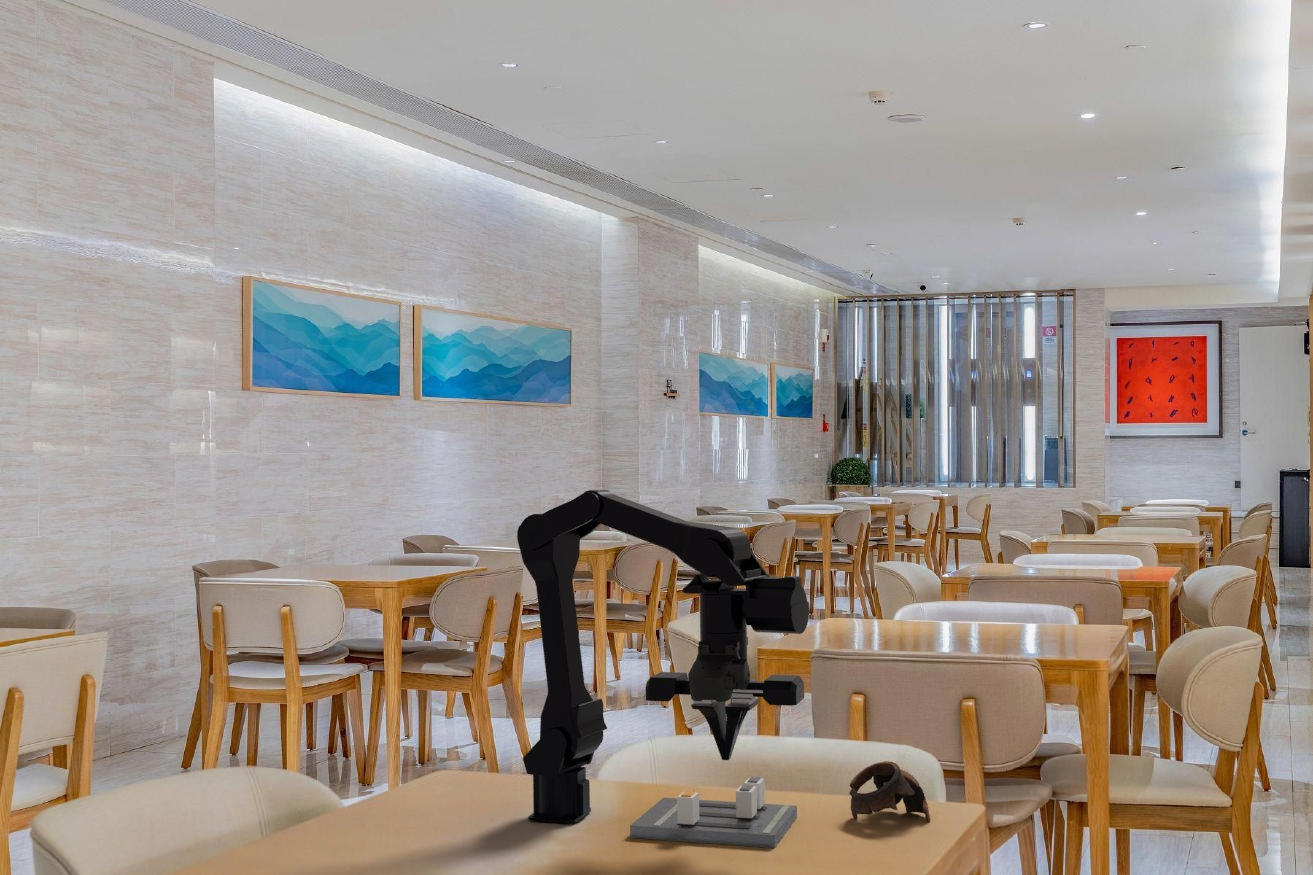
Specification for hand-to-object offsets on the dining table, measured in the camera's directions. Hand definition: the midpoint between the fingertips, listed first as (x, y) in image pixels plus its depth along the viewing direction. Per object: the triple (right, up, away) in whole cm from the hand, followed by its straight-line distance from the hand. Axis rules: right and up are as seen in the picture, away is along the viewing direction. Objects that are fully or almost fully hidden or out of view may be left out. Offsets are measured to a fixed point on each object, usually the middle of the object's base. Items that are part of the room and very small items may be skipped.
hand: (726, 759), depth 153 cm
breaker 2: (+4, -8, +8) cm, 12 cm away
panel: (-1, -10, +5) cm, 11 cm away
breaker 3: (+3, -8, +4) cm, 9 cm away
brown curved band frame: (+21, -10, +8) cm, 25 cm away
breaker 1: (-5, -8, +1) cm, 9 cm away
